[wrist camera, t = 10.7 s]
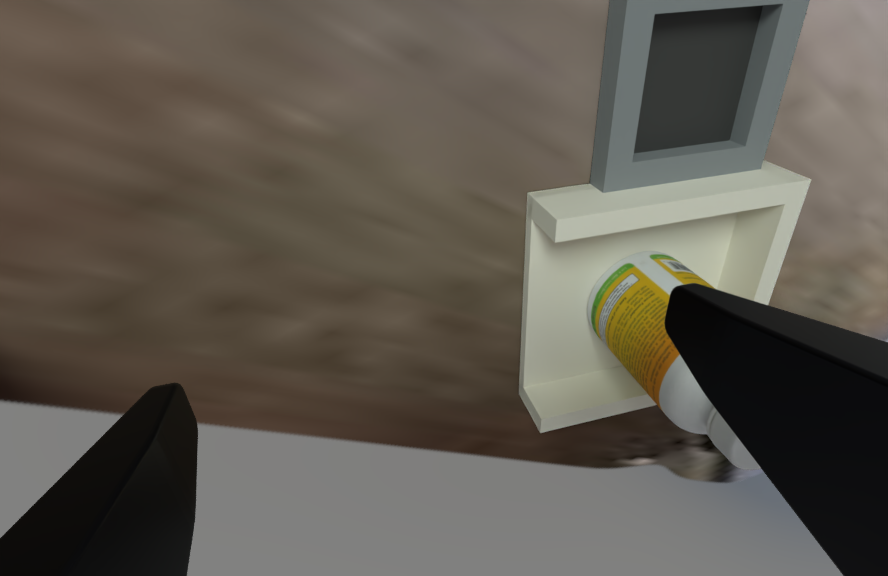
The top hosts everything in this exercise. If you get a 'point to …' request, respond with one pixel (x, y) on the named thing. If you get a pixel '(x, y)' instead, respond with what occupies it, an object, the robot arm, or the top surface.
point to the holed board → (690, 88)
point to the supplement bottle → (657, 344)
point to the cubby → (618, 236)
